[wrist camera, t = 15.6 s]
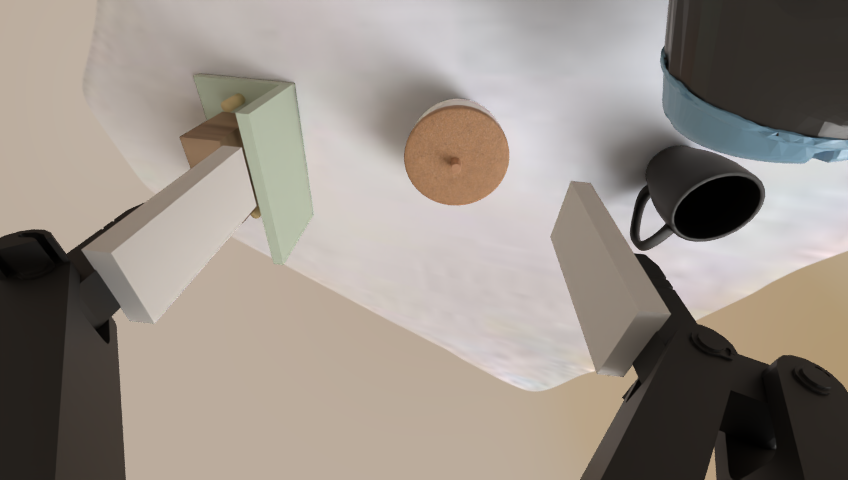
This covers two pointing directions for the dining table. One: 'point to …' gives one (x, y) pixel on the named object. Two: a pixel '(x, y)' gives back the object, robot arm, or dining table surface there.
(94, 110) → the dining table surface
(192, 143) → the brown tapered block
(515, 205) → the dining table surface
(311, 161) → the dining table surface
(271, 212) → the ledge
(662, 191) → the mug
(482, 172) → the lidded jar
